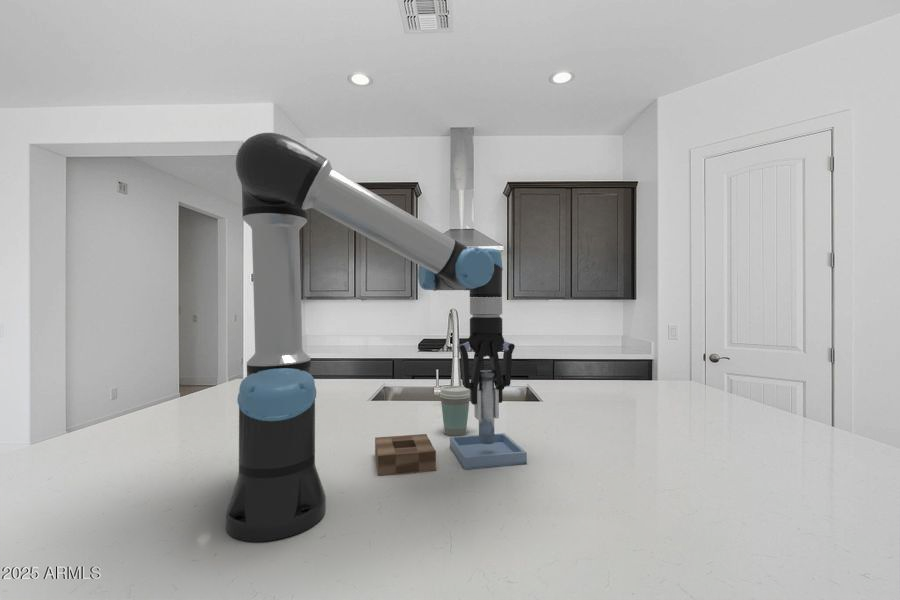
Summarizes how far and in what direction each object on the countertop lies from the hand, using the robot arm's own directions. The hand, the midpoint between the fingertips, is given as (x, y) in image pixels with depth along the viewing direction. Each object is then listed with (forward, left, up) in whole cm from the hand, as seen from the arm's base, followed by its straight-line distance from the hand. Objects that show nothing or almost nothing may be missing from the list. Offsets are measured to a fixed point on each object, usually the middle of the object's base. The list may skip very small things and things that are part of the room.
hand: (486, 417), depth 97 cm
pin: (0, 0, -6) cm, 6 cm away
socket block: (0, +19, -9) cm, 21 cm away
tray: (0, 0, -9) cm, 9 cm away
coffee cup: (+18, +3, -9) cm, 20 cm away
